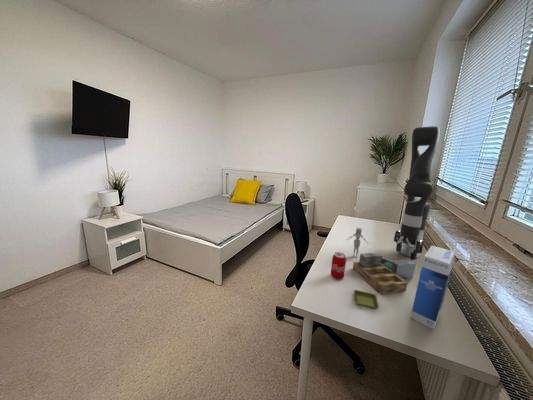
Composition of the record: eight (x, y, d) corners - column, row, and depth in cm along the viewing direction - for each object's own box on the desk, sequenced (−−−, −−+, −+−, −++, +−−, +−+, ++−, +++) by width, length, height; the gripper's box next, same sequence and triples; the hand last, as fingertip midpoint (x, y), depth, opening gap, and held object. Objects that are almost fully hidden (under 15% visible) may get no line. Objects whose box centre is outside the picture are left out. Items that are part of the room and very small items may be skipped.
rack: (376, 267, 114) (378, 250, 112) (405, 290, 95) (409, 271, 93) (352, 268, 112) (354, 252, 110) (377, 293, 93) (380, 274, 91)
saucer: (353, 306, 85) (354, 302, 84) (353, 293, 93) (353, 289, 92) (378, 312, 82) (378, 308, 82) (375, 298, 90) (376, 294, 90)
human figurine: (344, 255, 126) (347, 227, 122) (344, 253, 129) (348, 225, 125) (366, 260, 121) (370, 230, 117) (366, 257, 124) (370, 228, 120)
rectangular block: (407, 274, 108) (410, 260, 106) (412, 278, 105) (415, 263, 103) (389, 275, 107) (392, 261, 105) (394, 279, 103) (397, 265, 102)
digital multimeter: (368, 256, 127) (369, 251, 126) (394, 267, 115) (395, 262, 115) (361, 259, 123) (362, 255, 122) (388, 271, 111) (389, 266, 110)
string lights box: (418, 301, 88) (431, 244, 82) (441, 312, 83) (457, 251, 77) (409, 318, 79) (423, 255, 73) (435, 330, 74) (451, 264, 68)
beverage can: (337, 282, 100) (339, 259, 97) (327, 275, 105) (330, 253, 103) (346, 278, 103) (349, 256, 100) (337, 272, 108) (339, 250, 105)
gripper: (431, 229, 93) (424, 262, 97) (406, 218, 107) (400, 248, 111) (417, 229, 92) (410, 263, 96) (393, 219, 106) (387, 249, 109)
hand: (405, 255), depth 103 cm, fingers open, 8 cm apart
